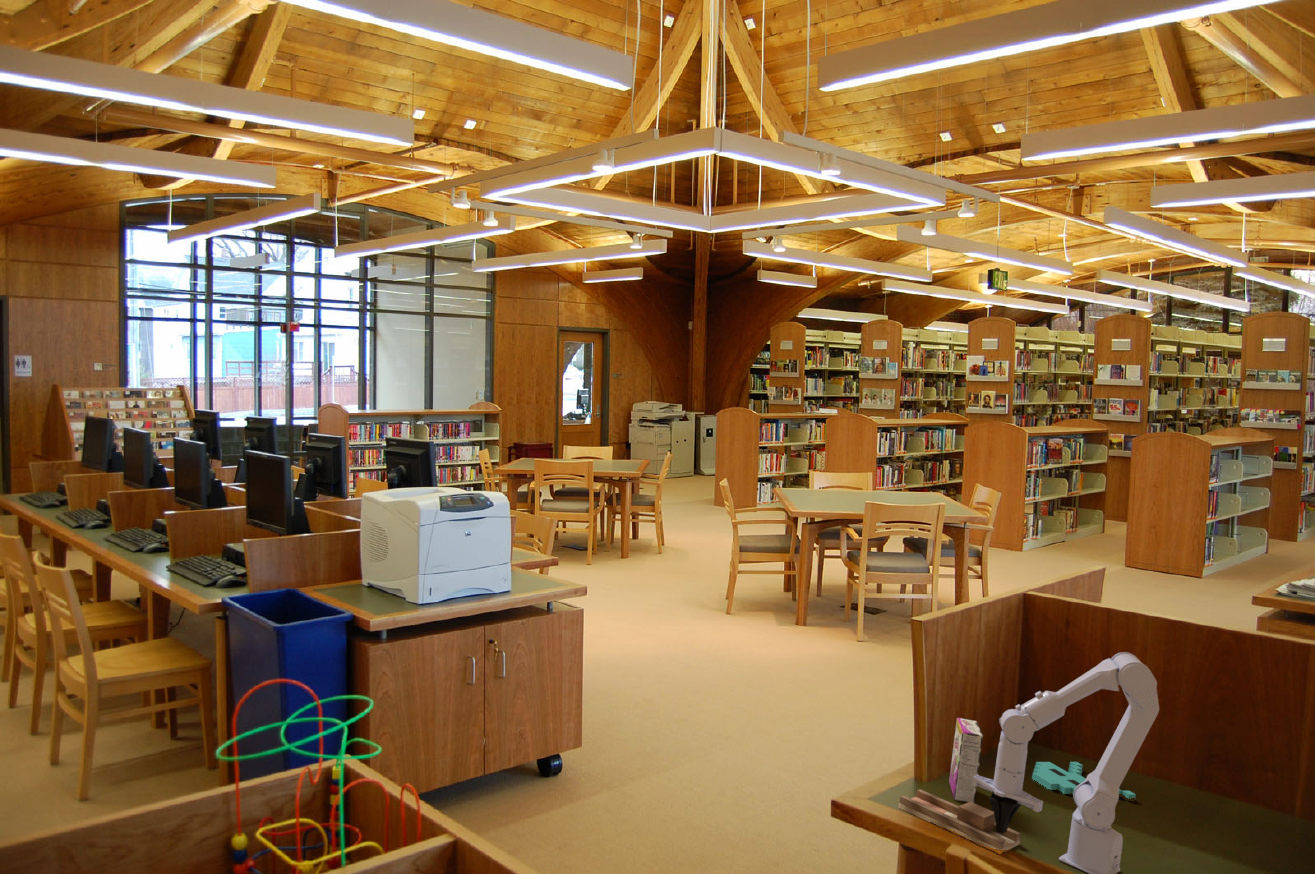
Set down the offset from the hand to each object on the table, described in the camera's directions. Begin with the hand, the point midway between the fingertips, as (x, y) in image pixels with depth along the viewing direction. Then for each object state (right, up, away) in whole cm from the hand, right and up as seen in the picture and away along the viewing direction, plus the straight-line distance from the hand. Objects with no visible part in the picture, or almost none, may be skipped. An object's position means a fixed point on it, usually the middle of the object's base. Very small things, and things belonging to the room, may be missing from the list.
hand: (1001, 831), depth 193 cm
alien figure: (+34, -6, +41) cm, 54 cm away
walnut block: (-4, -1, +4) cm, 6 cm away
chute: (-7, -2, +7) cm, 10 cm away
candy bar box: (0, -2, +26) cm, 26 cm away
